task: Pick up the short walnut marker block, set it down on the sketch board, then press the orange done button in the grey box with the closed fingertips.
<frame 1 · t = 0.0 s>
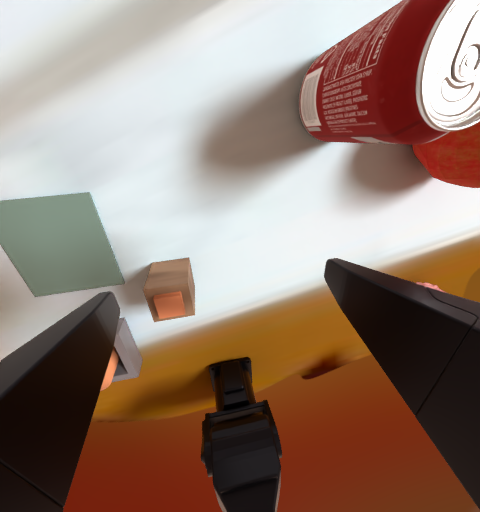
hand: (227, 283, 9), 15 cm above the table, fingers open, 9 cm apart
apple: (440, 128, 23), on the table
marker block: (174, 274, 25), on the table
soda can: (329, 99, 20), on the table
button box: (101, 346, 28), on the table
sketch board: (60, 248, 22), on the table
done button: (92, 367, 26), point 3 cm above the table, slide at 0.0 cm
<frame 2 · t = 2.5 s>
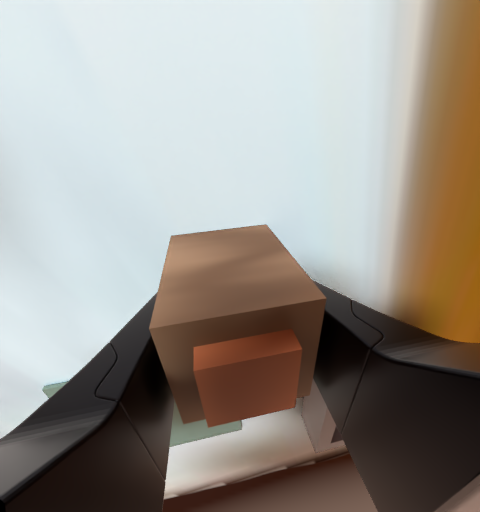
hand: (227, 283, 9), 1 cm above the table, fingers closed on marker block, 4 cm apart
marker block: (224, 270, 10), on the table, touching gripper
button box: (355, 375, 17), on the table
sketch board: (162, 410, 14), on the table
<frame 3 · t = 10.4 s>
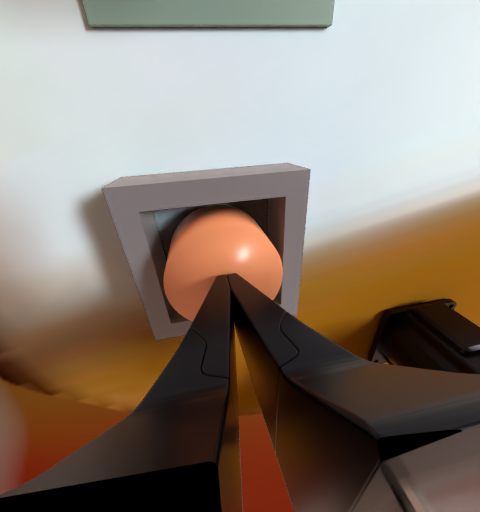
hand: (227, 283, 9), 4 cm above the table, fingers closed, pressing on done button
button box: (217, 244, 13), on the table
done button: (222, 264, 11), point 2 cm above the table, slide at 0.7 cm, touching gripper
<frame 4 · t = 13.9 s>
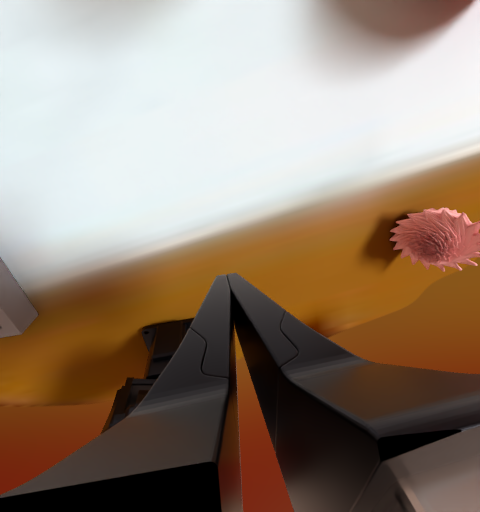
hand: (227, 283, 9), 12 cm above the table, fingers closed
flower: (409, 228, 25), on the table
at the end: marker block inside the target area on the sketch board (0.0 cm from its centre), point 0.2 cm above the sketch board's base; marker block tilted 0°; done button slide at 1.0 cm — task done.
